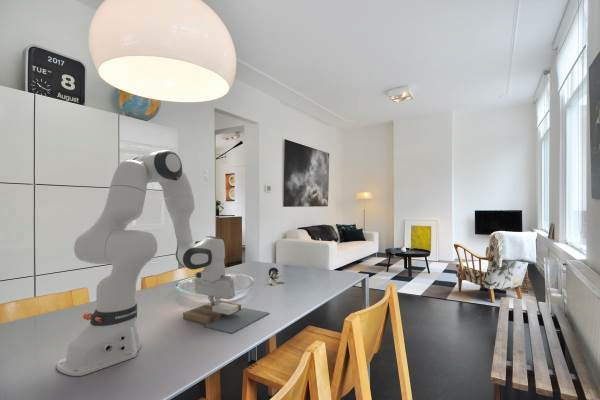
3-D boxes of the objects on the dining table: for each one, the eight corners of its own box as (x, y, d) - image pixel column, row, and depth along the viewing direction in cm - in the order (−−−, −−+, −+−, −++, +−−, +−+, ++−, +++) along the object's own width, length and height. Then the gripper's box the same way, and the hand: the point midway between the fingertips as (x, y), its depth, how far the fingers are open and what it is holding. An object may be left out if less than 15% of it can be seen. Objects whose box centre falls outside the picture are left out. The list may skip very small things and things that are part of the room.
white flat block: (228, 314, 128) (228, 309, 128) (212, 311, 132) (212, 306, 132) (238, 310, 133) (238, 305, 133) (222, 307, 137) (222, 302, 137)
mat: (231, 334, 115) (231, 332, 115) (204, 326, 122) (204, 325, 122) (269, 313, 136) (269, 312, 136) (243, 308, 143) (243, 307, 143)
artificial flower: (280, 279, 205) (284, 264, 204) (275, 292, 183) (279, 276, 181) (267, 275, 205) (271, 260, 204) (260, 288, 183) (264, 272, 182)
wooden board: (207, 325, 123) (207, 318, 124) (183, 318, 130) (183, 312, 130) (241, 309, 141) (241, 304, 141) (217, 305, 148) (217, 299, 148)
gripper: (238, 275, 133) (238, 308, 133) (202, 270, 143) (203, 301, 143) (227, 278, 128) (228, 312, 128) (192, 273, 138) (192, 305, 137)
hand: (214, 306), depth 135 cm, fingers closed
